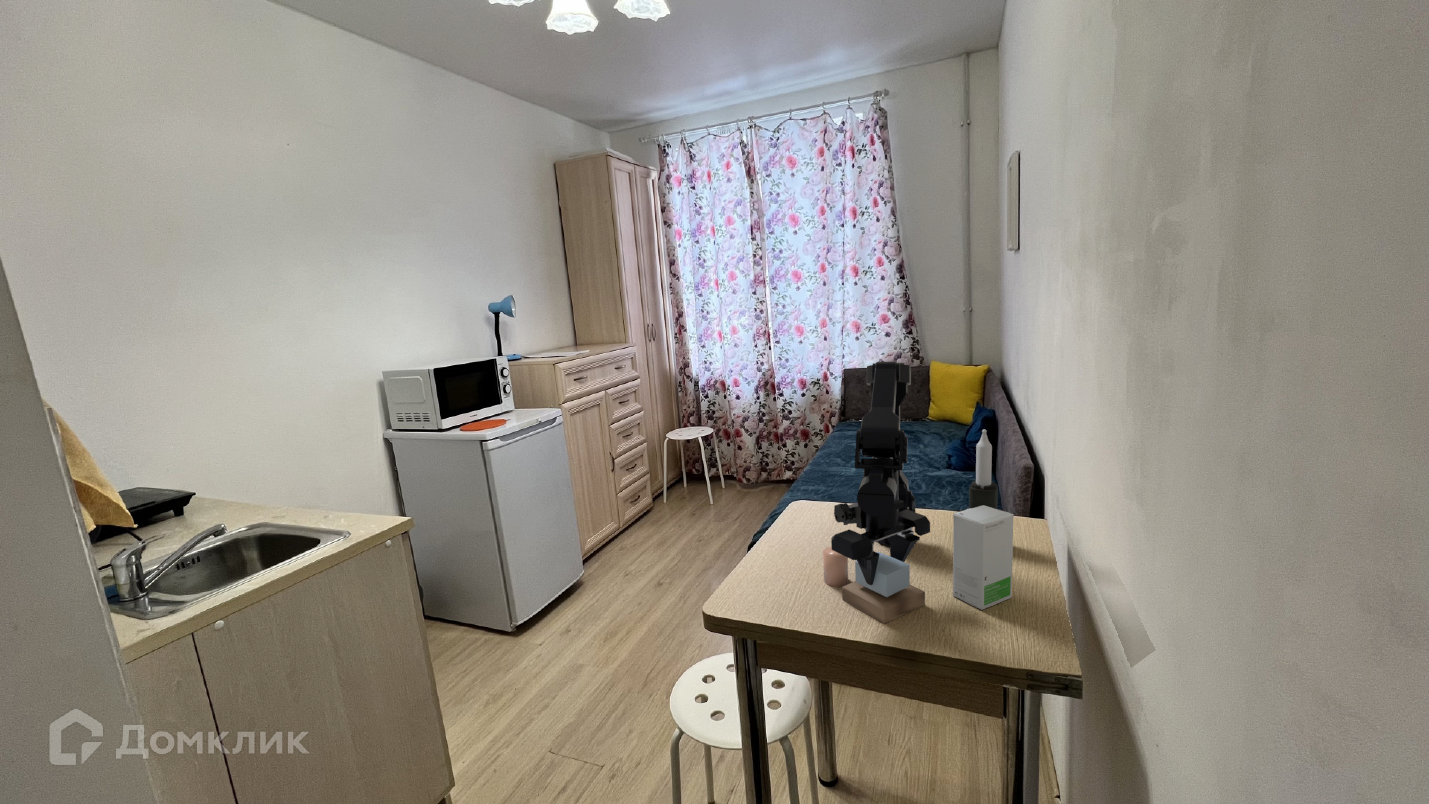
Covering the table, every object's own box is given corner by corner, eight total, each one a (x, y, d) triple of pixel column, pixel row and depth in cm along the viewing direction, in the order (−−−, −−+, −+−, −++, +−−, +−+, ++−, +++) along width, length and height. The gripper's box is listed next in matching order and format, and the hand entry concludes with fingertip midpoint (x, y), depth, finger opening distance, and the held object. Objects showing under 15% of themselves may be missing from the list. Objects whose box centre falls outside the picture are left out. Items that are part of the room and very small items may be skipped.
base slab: (881, 583, 111) (881, 570, 110) (924, 604, 102) (924, 591, 102) (842, 599, 106) (842, 586, 106) (884, 624, 97) (884, 610, 97)
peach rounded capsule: (836, 572, 116) (836, 544, 115) (853, 581, 112) (852, 552, 111) (819, 579, 114) (818, 551, 113) (835, 589, 110) (834, 559, 109)
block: (878, 571, 108) (878, 551, 107) (909, 585, 102) (909, 564, 102) (855, 582, 105) (855, 561, 104) (886, 597, 99) (886, 575, 98)
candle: (997, 541, 125) (999, 427, 121) (994, 550, 121) (996, 433, 117) (971, 537, 128) (973, 425, 123) (967, 546, 124) (968, 431, 119)
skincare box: (981, 611, 99) (982, 525, 96) (949, 595, 105) (950, 513, 102) (1013, 597, 103) (1016, 513, 100) (981, 582, 109) (982, 502, 106)
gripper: (884, 472, 112) (885, 549, 115) (808, 495, 103) (811, 577, 106) (932, 487, 103) (932, 569, 105) (854, 513, 93) (856, 602, 96)
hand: (882, 578), depth 103 cm, fingers closed on block, 6 cm apart
